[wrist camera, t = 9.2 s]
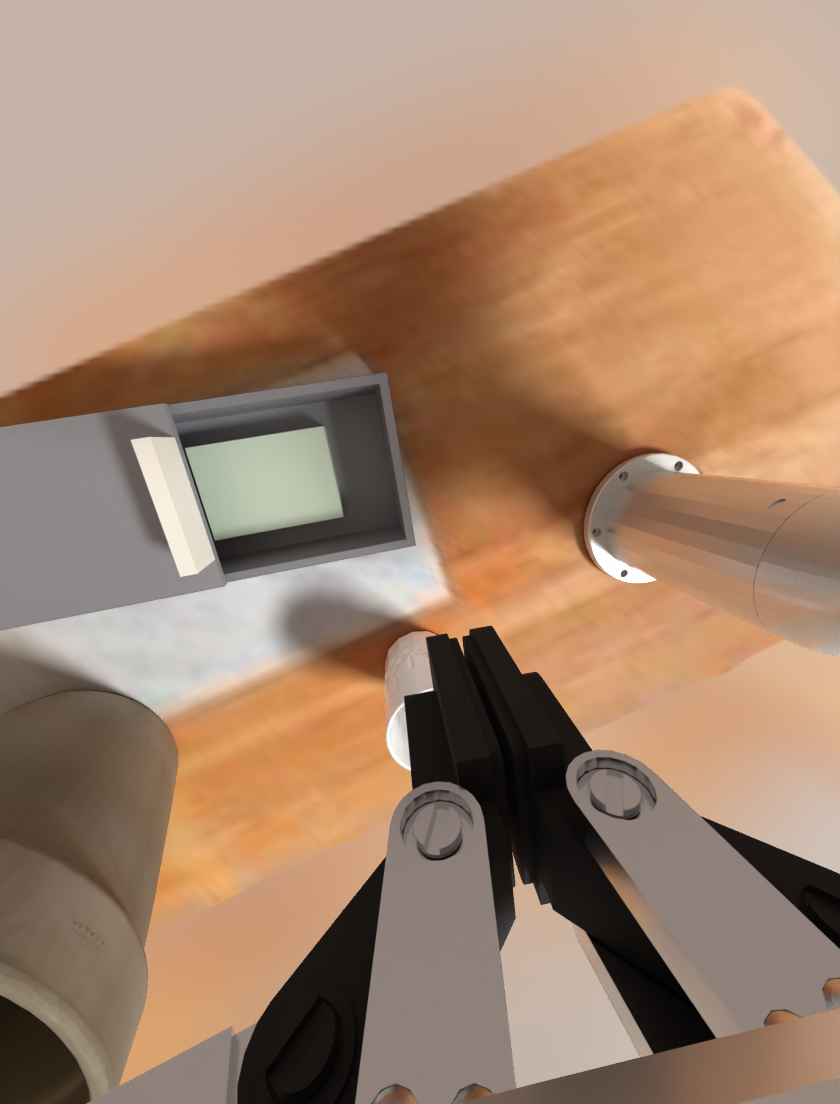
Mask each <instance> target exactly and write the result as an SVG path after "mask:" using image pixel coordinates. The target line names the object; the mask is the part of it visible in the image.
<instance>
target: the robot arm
mask: <svg viewBox="0 0 840 1104" xmlns="http://www.w3.org/2000/svg"><path fill="white" fill-rule="evenodd" d="M584 539H585V545H586V548H587V550H588V553H589V555H590V557H591V559H592V560H593V562H594V563H595V565H596V566H597V567H599V568H600V569H601V570H602V571H603V572H604V573H606V574H608V575H610V576H611V577H613V578H615V579H617V580H620V581H623V582H629V583H645V582H649V581H654V580H658V581H660V582H662V583H664V584H666V585H668V586H671V587H673V588H675V589H677V590H679V591H681V592H683V593H686V594H688V595H690V596H692V597H694V598H696V599H699V600H701V601H703V602H705V603H707V604H709V605H711V606H714V607H716V608H718V609H720V610H722V611H724V612H726V613H729V614H731V615H733V616H735V617H737V618H739V619H742V620H744V621H746V622H748V623H750V624H752V625H754V626H757V627H759V628H761V629H763V630H765V631H768V632H770V633H772V634H775V635H777V636H779V637H781V638H783V639H785V640H788V641H790V642H792V643H794V644H796V645H799V646H801V647H804V648H806V649H809V650H812V651H815V652H819V653H822V654H827V655H832V656H838V657H840V487H830V486H819V485H808V484H798V483H787V482H777V481H766V480H756V479H745V478H735V477H724V476H714V475H703V474H700V472H699V471H698V470H697V469H696V468H695V467H694V465H692V464H691V463H690V462H688V461H687V460H685V459H684V458H681V457H679V456H676V455H672V454H666V453H648V454H643V455H638V456H635V457H633V458H630V459H628V460H626V461H624V462H623V463H621V464H620V465H618V466H616V467H615V468H614V469H613V470H612V471H611V472H609V473H608V474H607V475H606V476H605V477H604V479H603V480H602V481H601V482H600V484H599V485H598V486H597V488H596V490H595V491H594V493H593V495H592V497H591V499H590V501H589V504H588V507H587V509H586V514H585V519H584ZM426 644H427V650H428V657H429V664H430V670H431V677H432V684H433V690H434V691H428V692H423V693H417V694H412V695H406V696H404V704H405V715H406V725H407V735H408V746H409V756H410V767H411V777H412V787H413V790H412V791H410V792H409V793H408V794H407V795H406V796H405V797H404V798H403V799H402V800H401V801H400V803H399V804H398V806H397V807H396V809H395V811H394V813H393V817H392V820H391V824H390V830H389V838H388V846H387V854H386V857H385V859H384V860H383V861H382V862H381V864H380V865H379V866H378V867H377V869H376V870H375V871H374V872H373V874H372V875H371V876H370V878H369V879H368V880H367V881H366V882H365V884H364V885H363V886H362V888H361V889H360V890H359V891H358V892H357V894H356V895H355V896H354V897H353V899H352V900H351V901H350V903H349V904H348V905H347V906H346V908H345V909H344V910H343V911H342V913H341V914H340V915H339V916H338V918H337V919H336V920H335V921H334V923H333V924H332V925H331V927H330V928H329V929H328V930H327V931H326V933H325V934H324V935H323V937H322V938H321V939H320V940H319V942H318V943H317V944H316V945H315V947H314V948H313V949H312V950H311V952H310V953H309V954H308V955H307V957H306V958H305V959H304V960H303V962H302V963H301V964H300V965H299V967H298V968H297V969H296V971H295V972H294V973H293V974H292V976H291V977H290V978H289V979H288V981H287V982H286V983H285V984H284V986H283V987H282V988H281V989H280V991H279V992H278V993H277V994H276V996H275V997H274V998H273V1000H272V1001H271V1002H270V1004H269V1005H268V1007H267V1009H266V1010H265V1012H264V1013H263V1015H262V1016H261V1018H260V1019H259V1021H258V1022H257V1023H256V1024H254V1025H252V1026H250V1027H249V1028H247V1029H245V1030H243V1031H241V1032H239V1033H238V1034H235V1031H234V1029H233V1027H232V1026H231V1027H230V1028H227V1029H226V1030H224V1031H222V1032H220V1033H218V1034H216V1035H214V1036H212V1037H211V1038H209V1039H207V1040H205V1041H203V1042H201V1043H200V1044H197V1045H196V1046H194V1047H192V1048H190V1049H188V1050H186V1051H184V1052H182V1053H181V1054H179V1055H177V1056H175V1057H173V1058H171V1059H169V1060H167V1061H166V1062H164V1063H162V1064H160V1065H158V1066H156V1067H154V1068H152V1069H150V1070H149V1071H147V1072H145V1073H143V1074H141V1075H140V1076H137V1077H136V1078H134V1079H132V1080H130V1081H128V1082H126V1083H124V1084H123V1085H121V1086H119V1087H117V1088H115V1089H113V1090H111V1091H109V1092H107V1093H105V1094H104V1095H102V1096H100V1097H98V1098H96V1099H94V1100H92V1101H90V1102H89V1103H87V1104H840V874H838V873H836V872H834V871H832V870H829V869H827V868H824V867H822V866H820V865H817V864H815V863H812V862H810V861H807V860H805V859H803V858H800V857H798V856H795V855H793V854H791V853H788V852H786V851H783V850H781V849H778V848H776V847H774V846H771V845H769V844H767V843H764V842H762V841H759V840H757V839H754V838H752V837H750V836H747V835H745V834H743V833H740V832H738V831H735V830H733V829H730V828H728V827H726V826H723V825H721V824H718V823H716V822H714V821H711V820H709V819H706V818H704V817H701V816H699V815H698V814H697V813H696V812H695V811H694V810H693V809H692V808H691V807H690V806H689V805H688V804H687V803H686V802H685V801H684V800H682V798H681V797H679V795H677V794H676V793H675V792H674V791H673V790H672V789H671V788H670V787H669V786H668V785H667V784H666V783H665V782H664V781H663V780H662V779H660V778H659V776H658V775H657V774H655V773H654V772H653V771H652V770H651V769H649V768H648V767H647V766H646V765H644V764H643V763H642V762H640V761H638V760H636V759H634V758H632V757H630V756H628V755H626V754H622V753H618V752H614V751H607V750H595V751H592V749H591V748H590V747H589V745H588V744H587V742H586V741H585V739H584V738H583V736H582V735H581V733H580V732H579V731H578V729H577V728H576V726H575V725H574V723H573V722H572V720H571V719H570V718H569V716H568V715H567V713H566V712H565V710H564V709H563V707H562V706H561V705H560V703H559V702H558V700H557V699H556V697H555V696H554V694H553V693H552V692H551V690H550V689H549V687H548V686H547V684H546V683H545V681H544V680H543V679H542V677H541V676H540V675H539V674H538V673H537V672H532V673H526V674H521V672H520V670H519V669H518V667H517V666H516V664H515V662H514V661H513V659H512V657H511V656H510V654H509V653H508V651H507V649H506V648H505V646H504V645H503V643H502V641H501V640H500V638H499V636H498V635H497V633H496V632H495V630H494V628H493V627H492V626H487V627H481V628H475V629H470V631H469V636H463V648H464V655H463V652H462V650H461V647H460V645H459V642H458V640H457V638H452V639H449V637H448V634H441V635H435V636H429V637H426ZM464 656H465V657H464ZM512 852H513V855H514V858H515V862H516V865H517V868H518V871H519V874H520V877H521V880H522V882H523V884H525V885H526V884H530V883H533V884H534V887H535V889H536V892H537V895H538V898H539V900H540V904H541V905H543V904H547V903H551V905H552V908H553V910H554V911H556V912H558V913H559V914H560V915H562V916H563V917H565V918H566V919H568V920H569V921H571V922H572V923H573V928H574V931H575V933H576V936H577V938H578V941H579V943H580V945H581V947H582V949H583V951H584V952H585V954H586V956H587V958H588V960H589V962H590V964H591V966H592V968H593V969H594V971H595V973H596V975H597V977H598V979H599V981H600V983H601V984H602V986H603V988H604V990H605V992H606V994H607V996H608V998H609V1000H610V1001H611V1003H612V1005H613V1007H614V1009H615V1011H616V1013H617V1015H618V1016H619V1018H620V1020H621V1022H622V1024H623V1026H624V1027H625V1029H626V1031H627V1033H628V1035H629V1037H630V1039H631V1041H632V1043H633V1045H634V1046H635V1048H636V1050H637V1052H638V1054H639V1056H640V1058H636V1059H633V1060H628V1061H624V1062H620V1063H616V1064H613V1065H608V1066H604V1067H600V1068H596V1069H592V1070H588V1071H584V1072H580V1073H576V1074H573V1075H568V1076H564V1077H560V1078H556V1079H552V1080H548V1081H544V1082H540V1083H536V1084H532V1085H528V1086H524V1087H521V1088H516V1084H515V1075H514V1067H513V1058H512V1050H511V1041H510V1033H509V1024H508V1015H507V1007H506V999H505V990H504V982H503V973H502V964H501V956H500V951H501V949H502V947H503V945H504V942H505V940H506V938H507V936H508V934H509V931H510V929H511V927H512V925H513V923H514V920H515V918H516V917H515V906H514V897H513V887H515V875H514V867H513V866H514V865H513V855H512Z"/></svg>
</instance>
